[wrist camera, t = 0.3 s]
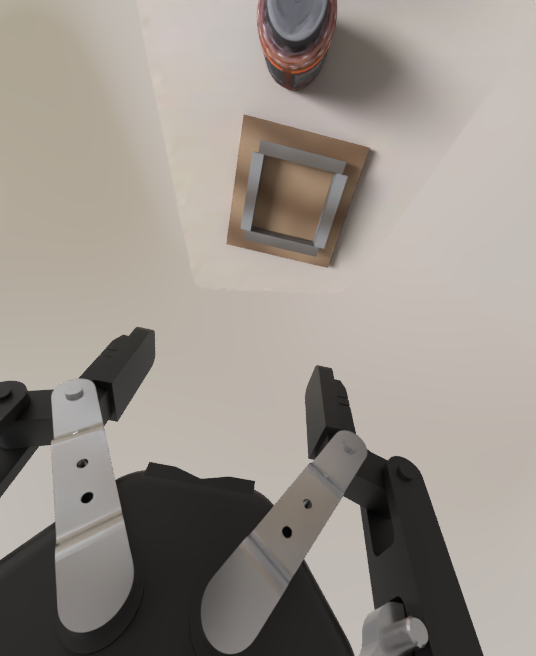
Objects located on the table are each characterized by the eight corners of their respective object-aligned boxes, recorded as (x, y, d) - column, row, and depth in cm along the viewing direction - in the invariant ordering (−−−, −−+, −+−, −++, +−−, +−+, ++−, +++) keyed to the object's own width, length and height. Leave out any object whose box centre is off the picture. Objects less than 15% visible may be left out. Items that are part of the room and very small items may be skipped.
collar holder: (245, 115, 30) (240, 111, 27) (367, 147, 31) (375, 147, 28) (228, 241, 38) (222, 249, 35) (326, 264, 39) (329, 274, 36)
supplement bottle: (338, 43, 27) (365, -15, 17) (298, 105, 30) (302, 84, 20) (291, -12, 25) (292, -110, 16) (253, 60, 28) (234, 13, 18)
